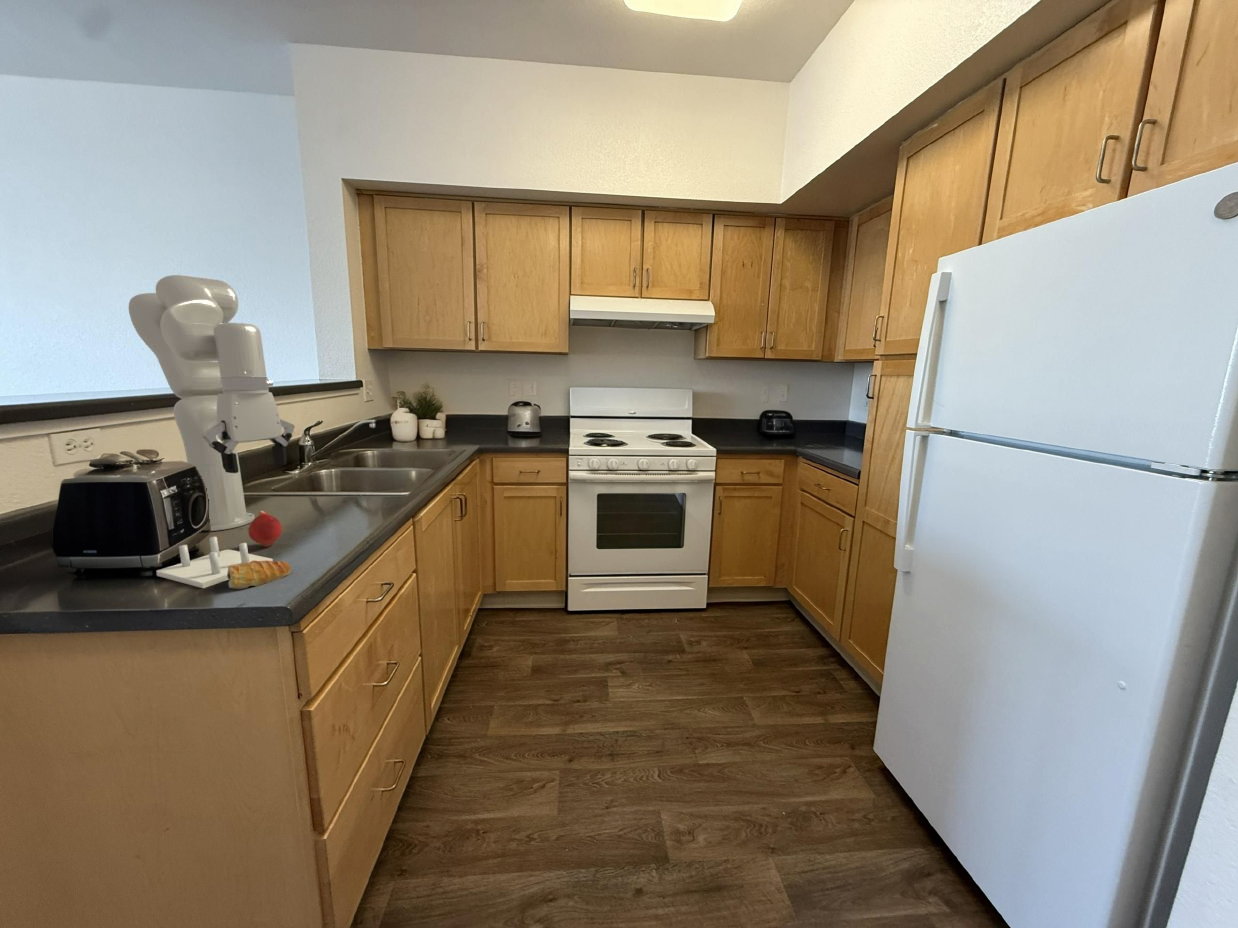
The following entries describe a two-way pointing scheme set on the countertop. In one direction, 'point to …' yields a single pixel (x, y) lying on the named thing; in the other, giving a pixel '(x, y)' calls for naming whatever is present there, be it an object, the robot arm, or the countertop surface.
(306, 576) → the countertop surface
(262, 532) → the onion
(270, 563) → the pastry
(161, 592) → the countertop surface
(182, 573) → the pin tray
